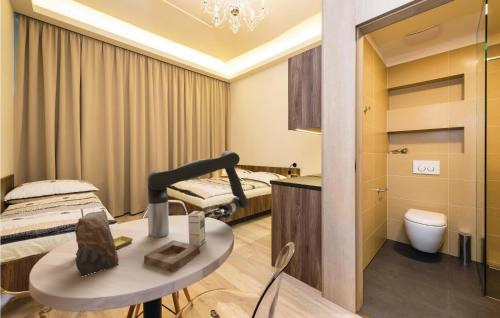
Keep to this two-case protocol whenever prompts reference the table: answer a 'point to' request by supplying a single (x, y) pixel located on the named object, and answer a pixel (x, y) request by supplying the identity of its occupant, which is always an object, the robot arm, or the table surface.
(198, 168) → the robot arm
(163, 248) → the hole board
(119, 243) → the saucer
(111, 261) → the brown rough tall block
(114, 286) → the table surface
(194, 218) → the syrup box
